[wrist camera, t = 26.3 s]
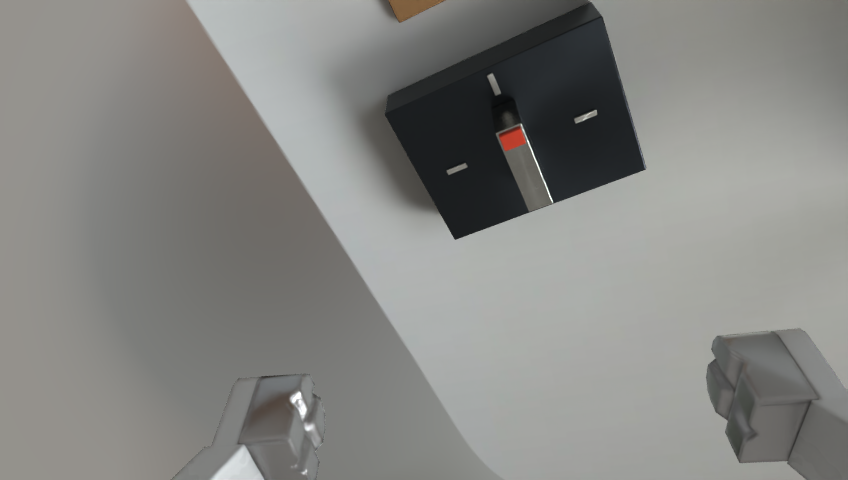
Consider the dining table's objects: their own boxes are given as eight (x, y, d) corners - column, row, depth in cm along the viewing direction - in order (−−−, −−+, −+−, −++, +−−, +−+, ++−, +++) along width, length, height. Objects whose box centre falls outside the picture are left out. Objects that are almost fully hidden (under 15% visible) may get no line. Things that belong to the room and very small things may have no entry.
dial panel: (454, 217, 45) (454, 241, 42) (387, 95, 39) (383, 115, 36) (634, 148, 41) (647, 170, 38) (591, 1, 35) (602, 16, 32)
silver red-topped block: (545, 175, 39) (554, 205, 36) (522, 183, 39) (529, 214, 36) (514, 98, 36) (521, 124, 33) (490, 108, 36) (495, 135, 33)
